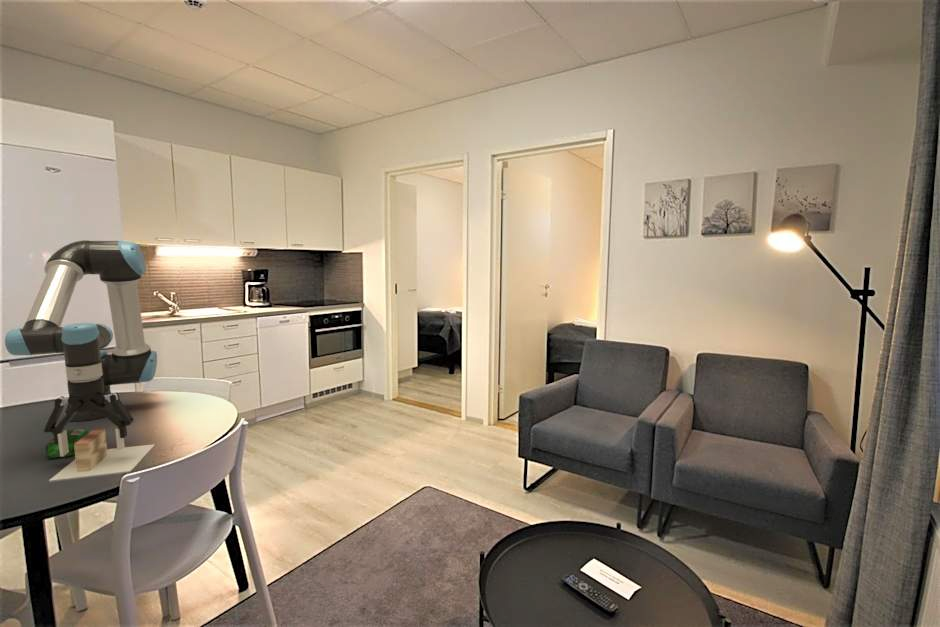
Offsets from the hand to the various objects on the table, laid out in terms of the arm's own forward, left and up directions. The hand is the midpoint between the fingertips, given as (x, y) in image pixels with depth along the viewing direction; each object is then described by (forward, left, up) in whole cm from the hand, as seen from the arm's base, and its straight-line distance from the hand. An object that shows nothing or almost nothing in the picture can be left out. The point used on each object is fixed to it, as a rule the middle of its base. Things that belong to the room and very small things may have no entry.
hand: (93, 451), depth 125 cm
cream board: (0, +3, -3) cm, 5 cm away
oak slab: (+1, 0, -3) cm, 3 cm away
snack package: (-12, -12, -4) cm, 17 cm away
